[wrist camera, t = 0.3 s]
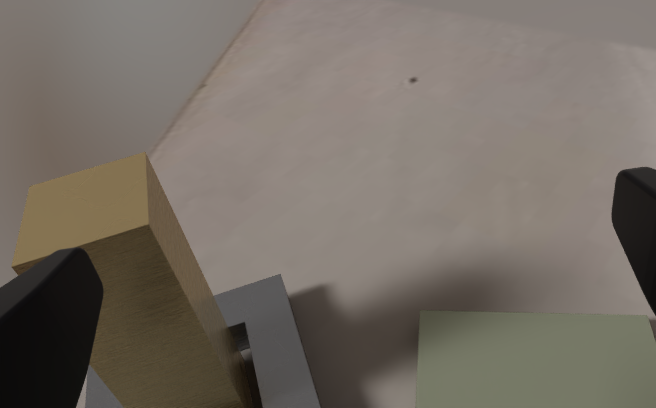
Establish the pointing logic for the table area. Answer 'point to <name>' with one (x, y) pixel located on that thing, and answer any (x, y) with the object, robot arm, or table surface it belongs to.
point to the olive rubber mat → (535, 360)
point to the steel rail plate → (253, 347)
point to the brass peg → (139, 287)
